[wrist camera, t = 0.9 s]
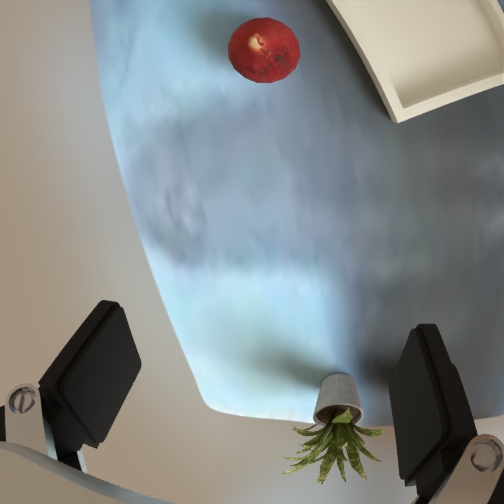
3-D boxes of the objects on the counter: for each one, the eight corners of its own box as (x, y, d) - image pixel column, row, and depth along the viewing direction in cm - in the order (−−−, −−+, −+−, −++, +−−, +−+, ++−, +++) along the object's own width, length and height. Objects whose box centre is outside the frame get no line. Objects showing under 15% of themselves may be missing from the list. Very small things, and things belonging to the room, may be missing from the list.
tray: (442, -64, 14) (450, -72, 12) (516, 74, 20) (529, 75, 18) (304, -29, 20) (304, -38, 18) (391, 120, 26) (398, 123, 24)
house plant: (282, 348, 42) (264, 455, 28) (383, 341, 39) (399, 449, 25) (293, 406, 49) (281, 494, 34) (376, 401, 45) (381, 490, 31)
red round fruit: (314, 54, 25) (315, 41, 18) (271, 95, 27) (259, 97, 20) (267, 16, 24) (252, -8, 17) (226, 57, 26) (199, 48, 19)
